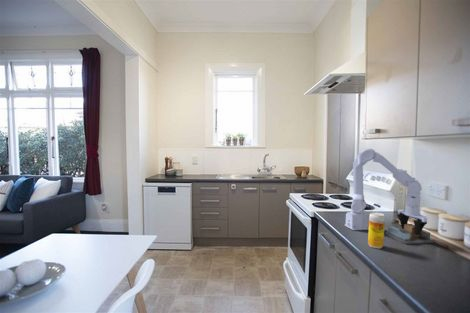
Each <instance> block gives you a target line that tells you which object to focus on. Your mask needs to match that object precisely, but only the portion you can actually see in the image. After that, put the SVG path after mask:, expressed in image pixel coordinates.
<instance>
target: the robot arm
mask: <svg viewBox="0 0 470 313" xmlns="http://www.w3.org/2000/svg"><path fill="white" fill-rule="evenodd" d="M370 161H372V162H374V163H379V164H381V165H382V166H383V167H384V168H386V170H388V171H389V172H390V173H391V174H392V178H394V179H395V180H396V181H397V182H398V183H399V184H401V185H402V186H403V187H406V194H405V207H404V208H405V209H401V208H400V209H397V215H396V216H397V217H398V220H399V222H400V226H401V230H404V224H409V222H408V221H409V219H410V218H412V219H413V225H415V234H416V235H420V233H421V231H422V230H424V228H425V226H426V225H427V224H428V217H426V216H423V215H422V214H421V213H420V206H421V191H422V189H423V188H422V185H421V183H420V182H419V181H418V180H416V178H415V177H412V175H410V174H409V173H407V172H408V170H406V169H402V168H397V167H396V166H395V165H393V164H392V162H390V161H389V160H388V159H387V158H386V157H384V156H383V154H380V153H379V152H377V151H375V149H372V148H366V149H363V150H362V151H360V152H359V153H358V154H357V157H355V159H354V161H353V162H352V174H353V175H352V176H353V177H352V179H353V180H352V183H353V186H352V187H353V196H352V203H351V204H350V208H351V210H350V211H348V212H346V214H345V224H344V226H345V227H346V228H348V229H350V230H353V231H363V230H364V231H365V230H366V231H369V227H367V226H366V215H367V212H366V210H365V208H366V207H367V202H366V201H365V195H364V165H366V164H367V163H369V162H370Z"/></svg>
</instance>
